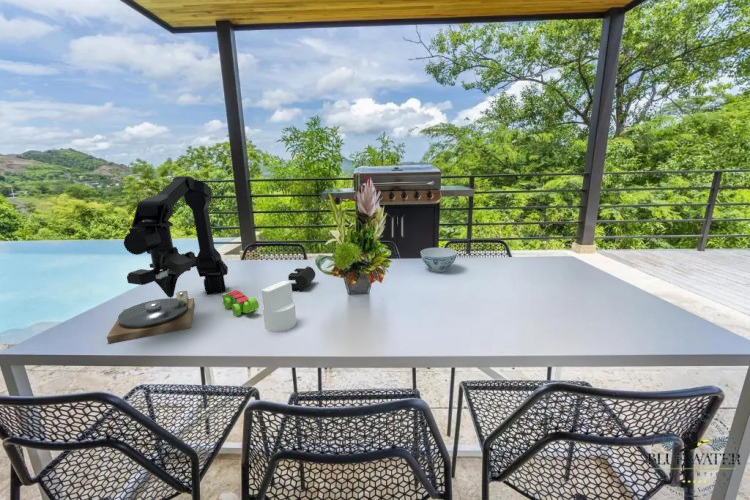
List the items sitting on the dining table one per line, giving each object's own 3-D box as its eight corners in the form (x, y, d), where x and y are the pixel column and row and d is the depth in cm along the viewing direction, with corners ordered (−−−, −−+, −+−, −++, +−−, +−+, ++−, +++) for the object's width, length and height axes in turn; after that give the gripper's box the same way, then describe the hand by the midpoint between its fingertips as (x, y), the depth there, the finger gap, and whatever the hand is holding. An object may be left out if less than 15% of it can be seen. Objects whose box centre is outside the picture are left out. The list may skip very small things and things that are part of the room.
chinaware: (460, 274, 141) (460, 256, 139) (422, 275, 141) (422, 257, 139) (452, 264, 155) (453, 247, 153) (418, 264, 156) (418, 248, 154)
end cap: (307, 292, 127) (306, 274, 126) (289, 291, 128) (287, 274, 127) (316, 282, 137) (315, 266, 135) (298, 282, 138) (297, 266, 136)
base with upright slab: (280, 334, 97) (275, 293, 94) (258, 327, 101) (253, 288, 98) (302, 321, 104) (299, 283, 101) (281, 315, 109) (277, 278, 106)
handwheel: (191, 298, 118) (188, 283, 117) (188, 319, 102) (185, 301, 101) (126, 309, 111) (122, 292, 110) (111, 333, 95) (107, 314, 94)
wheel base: (194, 303, 120) (193, 297, 119) (191, 327, 102) (190, 320, 102) (124, 315, 112) (123, 308, 112) (108, 343, 95) (106, 336, 94)
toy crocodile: (218, 303, 120) (216, 287, 118) (238, 298, 124) (236, 282, 122) (242, 322, 105) (239, 303, 104) (263, 315, 110) (261, 297, 108)
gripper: (150, 256, 87) (161, 313, 91) (209, 239, 104) (216, 288, 108) (119, 252, 91) (132, 308, 95) (181, 237, 108) (189, 285, 112)
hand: (170, 297), depth 102 cm, fingers closed
